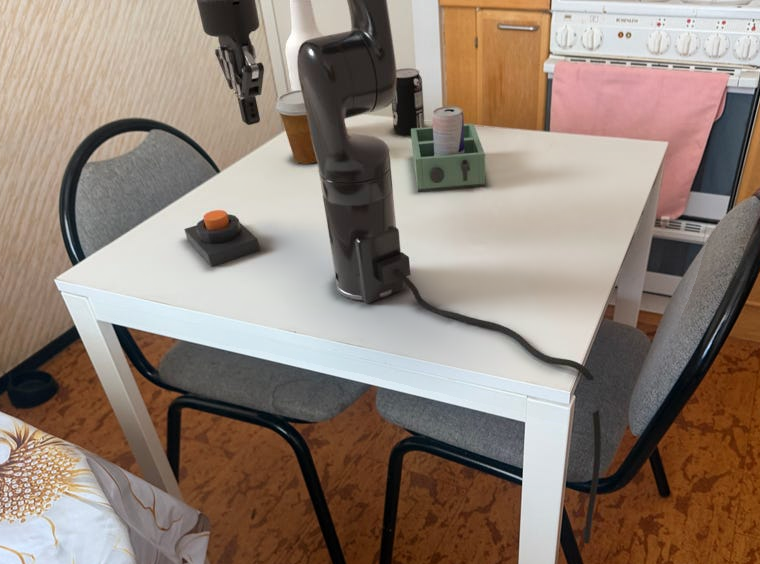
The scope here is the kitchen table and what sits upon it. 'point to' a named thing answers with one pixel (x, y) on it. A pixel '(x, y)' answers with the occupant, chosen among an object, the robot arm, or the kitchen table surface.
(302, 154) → the disposable coffee cup
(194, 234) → the control box
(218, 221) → the button
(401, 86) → the beverage can
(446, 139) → the energy drink
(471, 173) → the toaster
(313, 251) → the kitchen table surface
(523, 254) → the kitchen table surface
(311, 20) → the alcohol
